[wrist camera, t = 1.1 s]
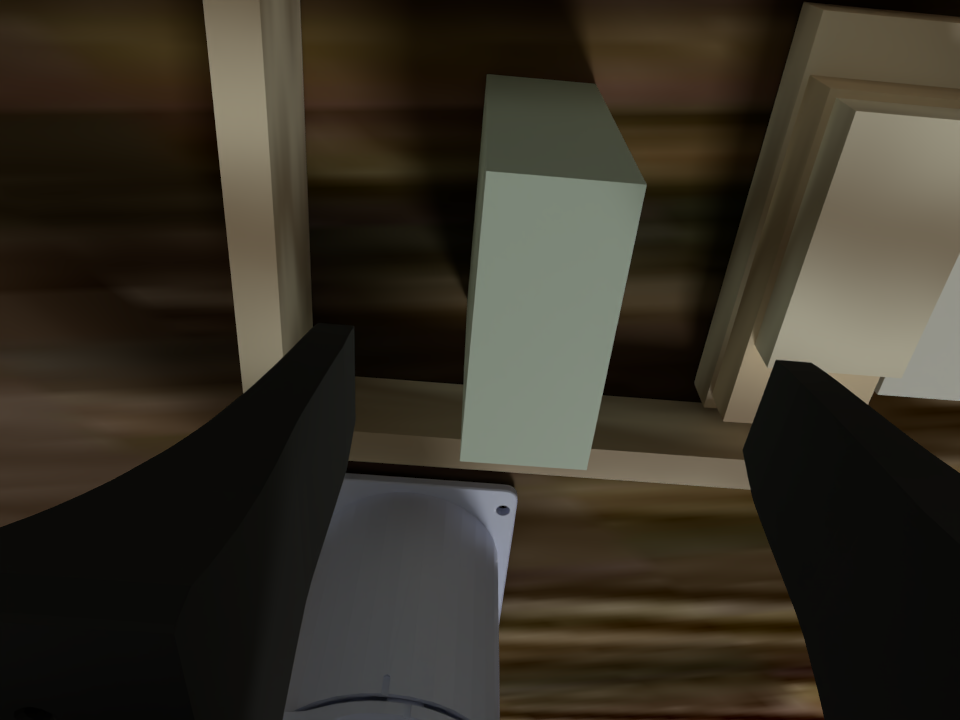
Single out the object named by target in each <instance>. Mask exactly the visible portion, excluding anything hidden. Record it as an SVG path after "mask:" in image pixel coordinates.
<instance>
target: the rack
mask: <svg viewBox="0 0 960 720" xmlns="http://www.w3.org/2000/svg"><path fill="white" fill-rule="evenodd" d="M203 7H204V17H205V27H206V37H207V46H208V56H209V66H210V76H211V85H212V95H213V105H214V114H215V124H216V134H217V144H218V153H219V163H220V173H221V183H222V192H223V202H224V212H225V221H226V231H227V241H228V251H229V260H230V270H231V280H232V290H233V299H234V309H235V319H236V328H237V338H238V348H239V358H240V367H241V377H242V387H243V393H245V392H246V391H247V390H248V389H249V388H250V387H251V386H253V385H254V384H255V383H256V382H257V381H258V380H259V379H260V378H261V377H262V376H263V375H264V374H266V373H267V372H268V371H269V370H270V369H271V368H272V367H273V366H274V365H275V364H276V363H277V362H278V361H279V360H280V359H281V358H282V357H283V356H284V355H286V354H287V353H288V352H289V351H290V350H291V349H292V348H293V347H294V346H295V344H296V343H297V342H298V341H299V340H300V339H301V338H302V337H303V336H304V335H305V334H306V333H307V332H308V331H309V330H310V329H311V328H312V327H313V315H312V290H311V265H310V240H309V215H308V189H307V164H306V139H305V114H304V89H303V63H302V38H301V13H300V0H203ZM959 254H960V17H957V16H946V15H936V14H925V13H915V12H904V11H894V10H883V9H873V8H863V7H852V6H842V5H831V4H821V3H810V2H803V6H802V9H801V13H800V16H799V19H798V23H797V26H796V30H795V33H794V37H793V40H792V44H791V47H790V51H789V54H788V58H787V61H786V65H785V68H784V72H783V75H782V79H781V82H780V86H779V89H778V93H777V96H776V99H775V103H774V106H773V110H772V113H771V117H770V120H769V124H768V127H767V131H766V134H765V138H764V141H763V145H762V148H761V152H760V155H759V159H758V162H757V166H756V169H755V173H754V176H753V179H752V183H751V186H750V190H749V193H748V197H747V200H746V204H745V207H744V211H743V214H742V218H741V221H740V225H739V228H738V232H737V235H736V239H735V242H734V246H733V249H732V253H731V256H730V260H729V263H728V266H727V270H726V273H725V277H724V280H723V284H722V287H721V291H720V294H719V298H718V301H717V305H716V308H715V312H714V315H713V319H712V322H711V326H710V329H709V333H708V336H707V340H706V343H705V346H704V350H703V353H702V357H701V360H700V364H699V367H698V371H697V374H696V378H695V381H694V384H695V387H696V389H697V392H698V394H699V397H700V399H701V402H702V403H698V402H685V401H672V400H659V399H646V398H633V397H619V396H606V395H602V400H601V404H600V409H599V414H598V419H597V423H596V428H595V433H594V438H593V442H592V447H591V452H590V457H589V461H588V466H587V470H577V469H563V468H548V467H534V466H520V465H506V464H492V463H477V462H463V461H460V446H461V425H462V403H463V385H462V384H449V383H435V382H422V381H409V380H396V379H383V378H370V377H357V376H355V414H356V421H355V427H354V432H353V438H352V444H351V449H350V455H349V460H348V461H362V462H376V463H389V464H403V465H417V466H431V467H445V468H459V469H473V470H487V471H500V472H514V473H528V474H542V475H556V476H570V477H584V478H598V479H611V480H625V481H639V482H653V483H667V484H681V485H695V486H708V487H722V488H736V489H750V485H749V480H748V476H747V471H746V466H745V461H744V456H743V451H742V450H743V447H744V444H745V442H746V439H747V436H748V434H749V431H750V428H751V425H752V423H753V420H754V417H755V415H756V412H757V409H758V407H759V404H760V401H761V398H762V396H763V393H764V390H765V388H766V385H767V382H768V379H769V377H770V374H771V371H772V369H773V366H774V363H775V361H776V360H786V361H799V362H811V363H813V364H814V365H816V366H817V367H819V368H820V369H822V370H823V371H825V372H826V373H827V374H829V375H830V376H831V377H833V378H834V379H835V380H837V381H838V382H839V383H841V384H842V385H843V386H845V387H846V388H847V389H848V390H850V391H851V392H852V393H854V394H855V395H856V396H857V397H859V398H860V399H861V400H862V401H864V402H865V403H866V404H867V405H868V403H869V401H870V399H871V396H872V394H873V392H874V390H875V387H876V385H877V383H878V381H879V378H880V377H890V378H902V376H903V374H904V372H905V370H906V368H907V366H908V363H909V361H910V359H911V357H912V355H913V353H914V351H915V348H916V346H917V344H918V342H919V340H920V338H921V336H922V333H923V331H924V329H925V327H926V325H927V323H928V320H929V318H930V316H931V314H932V312H933V310H934V308H935V305H936V303H937V301H938V299H939V297H940V295H941V292H942V290H943V288H944V286H945V284H946V282H947V280H948V277H949V275H950V273H951V271H952V269H953V267H954V265H955V262H956V260H957V258H958V256H959ZM750 490H751V489H750Z"/></svg>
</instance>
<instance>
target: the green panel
mask: <svg viewBox="0 0 960 720" xmlns="http://www.w3.org/2000/svg"><path fill="white" fill-rule="evenodd" d="M646 185H647V184H646V182H645V180H644V179H643V177H642V175H641V173H640V171H639V169H638V167H637V165H636V163H635V161H634V159H633V157H632V155H631V153H630V151H629V149H628V147H627V145H626V143H625V141H624V139H623V137H622V135H621V133H620V131H619V129H618V127H617V125H616V123H615V121H614V119H613V117H612V115H611V113H610V111H609V109H608V107H607V105H606V103H605V101H604V99H603V98H602V96H601V94H600V92H599V90H598V88H597V86H596V84H592V83H581V82H570V81H559V80H548V79H537V78H526V77H515V76H504V75H493V74H487V76H486V88H485V100H484V111H483V123H482V135H481V146H480V158H479V170H478V181H477V193H476V205H475V216H474V228H473V240H472V251H471V263H470V275H469V286H468V298H467V318H466V340H465V361H464V382H463V403H462V425H461V446H460V461H463V462H477V463H492V464H506V465H520V466H534V467H548V468H563V469H577V470H587V466H588V461H589V457H590V452H591V447H592V442H593V438H594V433H595V428H596V423H597V419H598V414H599V409H600V404H601V400H602V395H603V390H604V385H605V380H606V376H607V371H608V366H609V361H610V357H611V352H612V347H613V342H614V338H615V333H616V328H617V323H618V319H619V314H620V309H621V304H622V300H623V295H624V290H625V285H626V281H627V276H628V271H629V266H630V262H631V257H632V252H633V247H634V242H635V238H636V233H637V228H638V223H639V219H640V214H641V209H642V204H643V200H644V195H645V190H646Z"/></svg>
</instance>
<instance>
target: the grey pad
mask: <svg viewBox="0 0 960 720" xmlns="http://www.w3.org/2000/svg"><path fill="white" fill-rule="evenodd" d="M875 392H876V393H877V394H879V395H892V396H905V397H917V398H930V399H943V400H956V401H960V254H959V256H958V258H957V260H956V262H955V265H954V267H953V269H952V271H951V273H950V275H949V277H948V280H947V282H946V284H945V286H944V288H943V290H942V292H941V295H940V297H939V299H938V301H937V303H936V305H935V308H934V310H933V312H932V314H931V316H930V318H929V320H928V323H927V325H926V327H925V329H924V331H923V333H922V336H921V338H920V340H919V342H918V344H917V346H916V348H915V351H914V353H913V355H912V357H911V359H910V361H909V363H908V366H907V368H906V370H905V372H904V374H903V376H902V378H890V377H880V378H879V381H878V383H877V385H876V387H875Z"/></svg>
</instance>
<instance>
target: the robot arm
mask: <svg viewBox="0 0 960 720" xmlns="http://www.w3.org/2000/svg"><path fill="white" fill-rule="evenodd" d="M355 421H356V414H355V339H354V326H352V325H340V324H328V323H317V324H316V325H315V326H314V327H312V328H311V329H310V330H309V331H308V332H307V333H306V334H305V335H304V336H303V337H302V338H301V339H300V340H299V341H298V342H297V343H296V344H295V346H294V347H293V348H292V349H291V350H290V351H289V352H288V353H287V354H286V355H284V356H283V357H282V358H281V359H280V360H279V361H278V362H277V363H276V364H275V365H274V366H273V367H272V368H271V369H270V370H269V371H268V372H267V373H266V374H264V375H263V376H262V377H261V378H260V379H259V380H258V381H257V382H256V383H255V384H254V385H253V386H251V387H250V388H249V389H248V390H247V391H246V392H245V393H243V394H242V395H241V396H240V397H238V398H237V399H236V400H235V401H234V402H232V403H231V404H230V405H229V406H227V407H226V408H225V409H224V410H223V411H221V412H220V413H219V414H218V415H216V416H215V417H214V418H213V419H211V420H210V421H209V422H207V423H206V424H205V425H203V426H202V427H200V428H199V429H198V430H196V431H195V432H193V433H192V434H190V435H189V436H187V437H186V438H184V439H183V440H181V441H180V442H178V443H177V444H175V445H174V446H172V447H170V448H169V449H167V450H165V451H164V452H162V453H160V454H159V455H157V456H155V457H153V458H151V459H150V460H148V461H146V462H144V463H142V464H141V465H139V466H137V467H135V468H133V469H132V470H130V471H128V472H126V473H124V474H123V475H121V476H119V477H117V478H115V479H113V480H111V481H109V482H107V483H105V484H103V485H101V486H99V487H97V488H95V489H93V490H91V491H88V492H86V493H84V494H82V495H80V496H78V497H75V498H73V499H71V500H69V501H66V502H64V503H62V504H59V505H57V506H55V507H53V508H50V509H48V510H45V511H43V512H40V513H38V514H35V515H33V516H30V517H27V518H25V519H22V520H19V521H16V522H14V523H11V524H8V525H6V526H3V527H0V720H500V702H499V621H500V614H501V607H502V601H503V594H504V587H505V581H506V574H507V568H508V561H509V554H510V548H511V541H512V534H513V528H514V521H515V514H516V508H517V501H518V500H517V491H516V490H515V488H514V487H512V486H510V485H506V484H492V483H478V482H464V481H450V480H436V479H422V478H408V477H394V476H380V475H366V474H352V473H346V470H347V465H348V460H349V455H350V449H351V444H352V438H353V432H354V427H355ZM742 451H743V456H744V461H745V466H746V471H747V476H748V480H749V485H750V489H751V493H752V497H753V501H754V504H755V507H756V510H757V512H758V515H759V518H760V520H761V523H762V526H763V528H764V531H765V534H766V536H767V539H768V542H769V544H770V547H771V550H772V552H773V555H774V557H775V560H776V562H777V565H778V568H779V570H780V573H781V575H782V578H783V581H784V583H785V586H786V588H787V591H788V593H789V596H790V599H791V601H792V604H793V606H794V609H795V612H796V615H797V618H798V621H799V624H800V627H801V630H802V633H803V636H804V639H805V643H806V647H807V650H808V654H809V658H810V662H811V666H812V669H813V673H814V677H815V681H816V685H817V689H818V693H819V697H820V701H821V706H822V710H823V714H824V719H825V720H960V473H959V472H957V471H956V470H955V469H953V468H952V467H950V466H949V465H947V464H946V463H945V462H943V461H942V460H940V459H939V458H937V457H936V456H934V455H933V454H932V453H930V452H929V451H928V450H926V449H925V448H923V447H922V446H921V445H919V444H918V443H917V442H915V441H914V440H913V439H911V438H910V437H909V436H907V435H906V434H905V433H903V432H902V431H901V430H899V429H898V428H897V427H896V426H894V425H893V424H892V423H890V422H889V421H888V420H887V419H885V418H884V417H883V416H881V415H880V414H879V413H878V412H876V411H875V410H874V409H873V408H871V407H870V406H869V405H867V404H866V403H865V402H864V401H862V400H861V399H860V398H859V397H857V396H856V395H855V394H854V393H852V392H851V391H850V390H848V389H847V388H846V387H845V386H843V385H842V384H841V383H839V382H838V381H837V380H835V379H834V378H833V377H831V376H830V375H829V374H827V373H826V372H825V371H823V370H822V369H820V368H819V367H817V366H816V365H814V364H813V363H811V362H799V361H786V360H776V361H775V363H774V366H773V369H772V371H771V374H770V377H769V379H768V382H767V385H766V388H765V390H764V393H763V396H762V398H761V401H760V404H759V407H758V409H757V412H756V415H755V417H754V420H753V423H752V425H751V428H750V431H749V434H748V436H747V439H746V442H745V444H744V447H743V450H742ZM503 505H504V506H507V507H506V508H499V506H503Z"/></svg>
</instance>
